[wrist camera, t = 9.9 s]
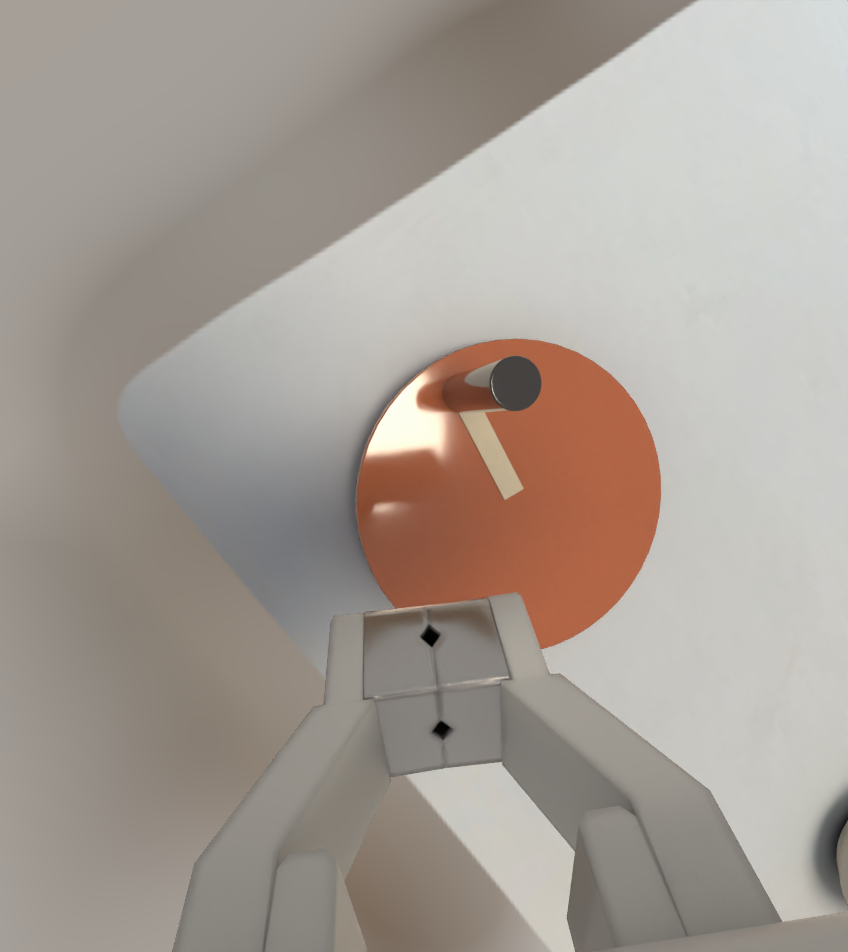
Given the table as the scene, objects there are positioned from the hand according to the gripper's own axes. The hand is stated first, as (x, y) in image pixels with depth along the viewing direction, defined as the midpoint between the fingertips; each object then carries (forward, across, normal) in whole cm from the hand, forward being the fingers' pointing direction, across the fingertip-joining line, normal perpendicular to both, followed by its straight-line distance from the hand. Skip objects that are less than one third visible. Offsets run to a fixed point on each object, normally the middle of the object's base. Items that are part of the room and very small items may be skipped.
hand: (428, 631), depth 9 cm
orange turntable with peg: (+18, -6, +10) cm, 21 cm away
